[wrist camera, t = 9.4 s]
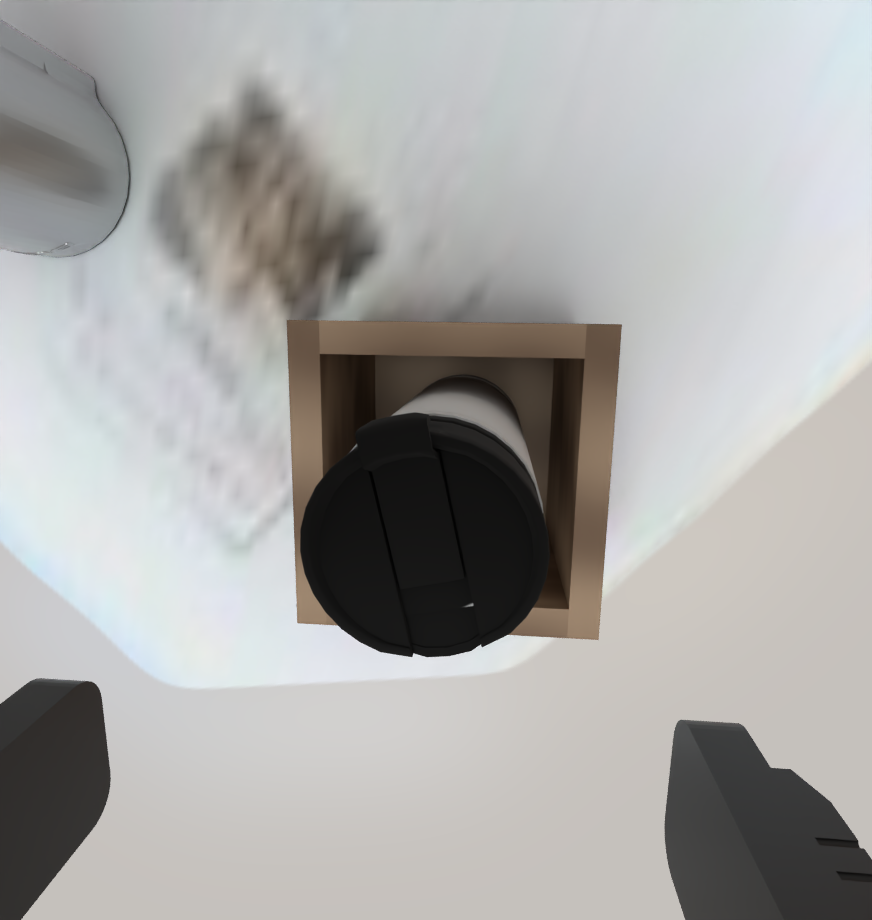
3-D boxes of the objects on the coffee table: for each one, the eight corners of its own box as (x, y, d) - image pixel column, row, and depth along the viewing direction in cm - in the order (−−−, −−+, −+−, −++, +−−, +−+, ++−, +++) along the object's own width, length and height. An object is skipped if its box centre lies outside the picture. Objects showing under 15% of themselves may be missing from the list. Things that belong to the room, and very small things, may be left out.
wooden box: (356, 323, 34) (286, 320, 23) (576, 326, 33) (621, 324, 22) (359, 530, 37) (297, 623, 25) (564, 538, 36) (598, 639, 24)
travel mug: (508, 357, 33) (527, 393, 14) (529, 476, 34) (575, 666, 15) (394, 380, 34) (257, 444, 14) (419, 495, 35) (323, 699, 16)
